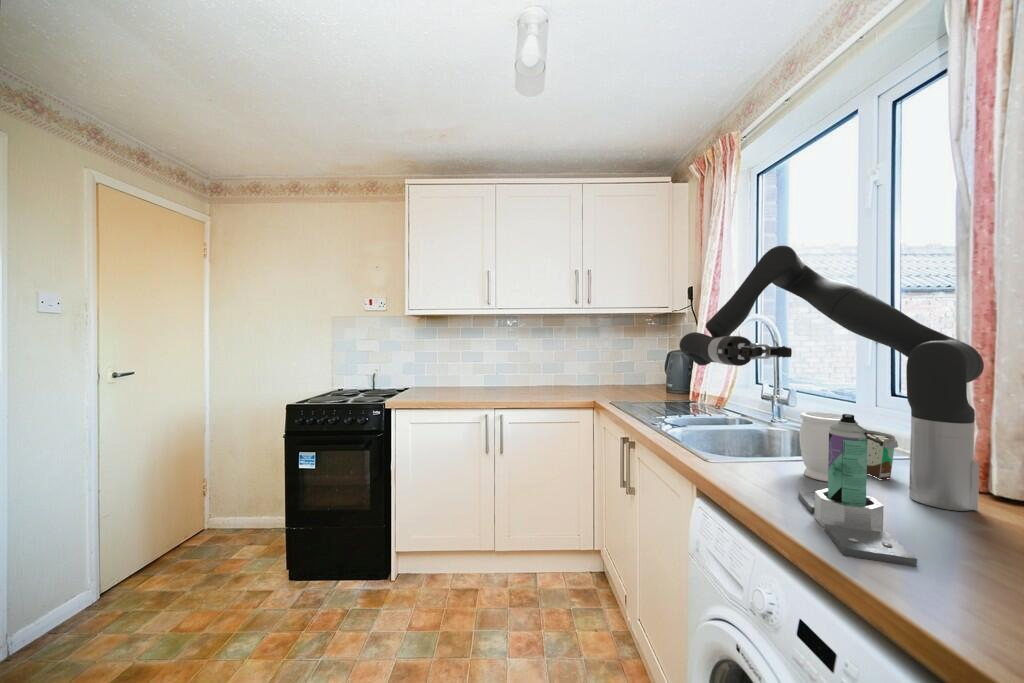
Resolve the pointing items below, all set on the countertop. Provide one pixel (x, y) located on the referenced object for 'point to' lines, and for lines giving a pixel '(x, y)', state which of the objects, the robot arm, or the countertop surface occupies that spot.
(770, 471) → the countertop surface
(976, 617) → the countertop surface
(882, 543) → the grey octagonal flange mount
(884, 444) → the food container
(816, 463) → the jar
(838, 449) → the spray can
